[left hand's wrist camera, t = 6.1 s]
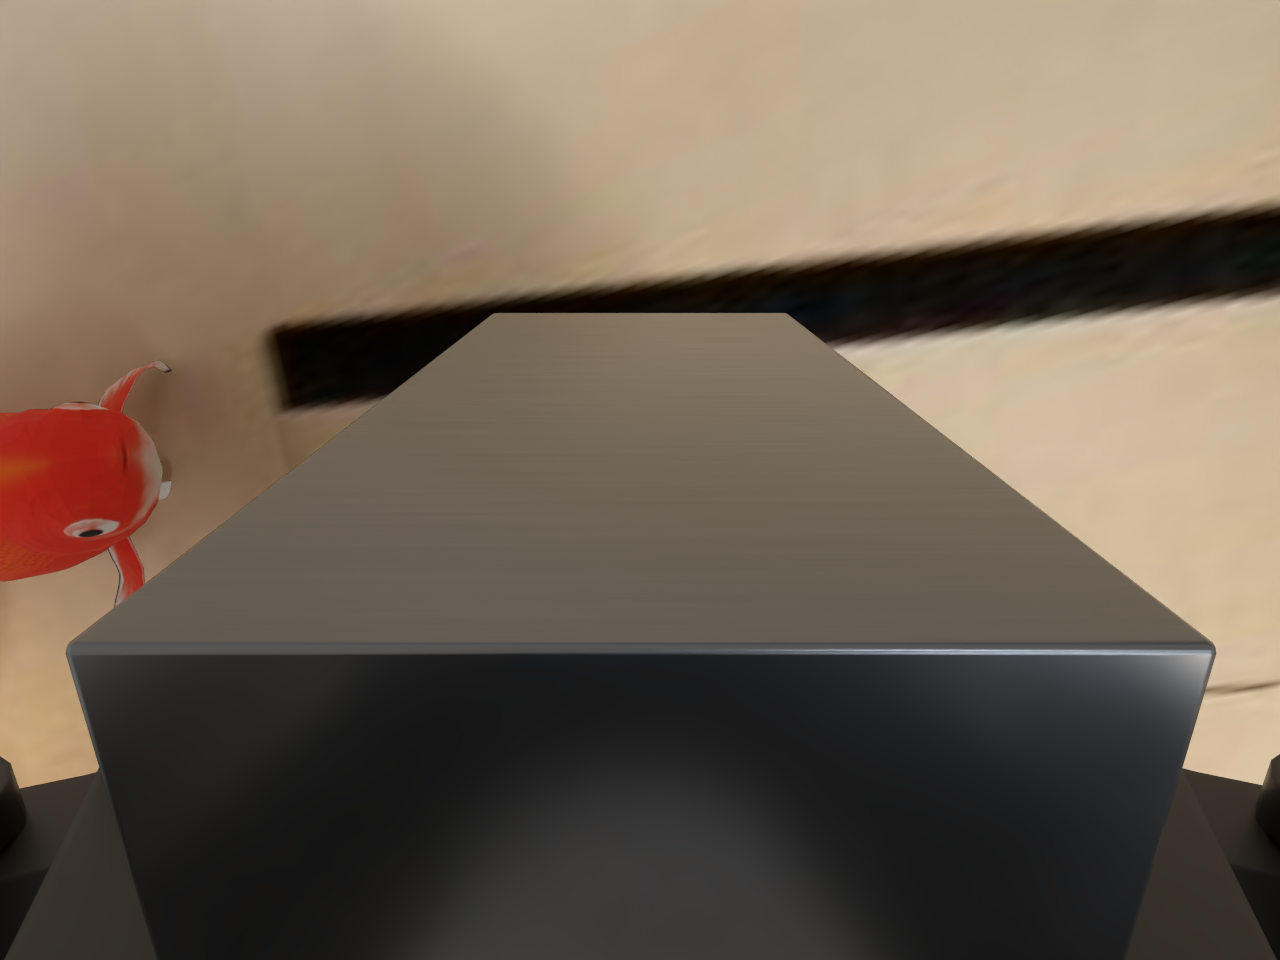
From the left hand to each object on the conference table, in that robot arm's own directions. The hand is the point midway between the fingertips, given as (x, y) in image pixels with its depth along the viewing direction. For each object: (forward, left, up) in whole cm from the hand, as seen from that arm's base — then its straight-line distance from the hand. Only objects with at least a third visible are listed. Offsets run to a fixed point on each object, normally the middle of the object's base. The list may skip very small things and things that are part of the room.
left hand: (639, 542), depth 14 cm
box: (+8, +4, -3) cm, 9 cm away
